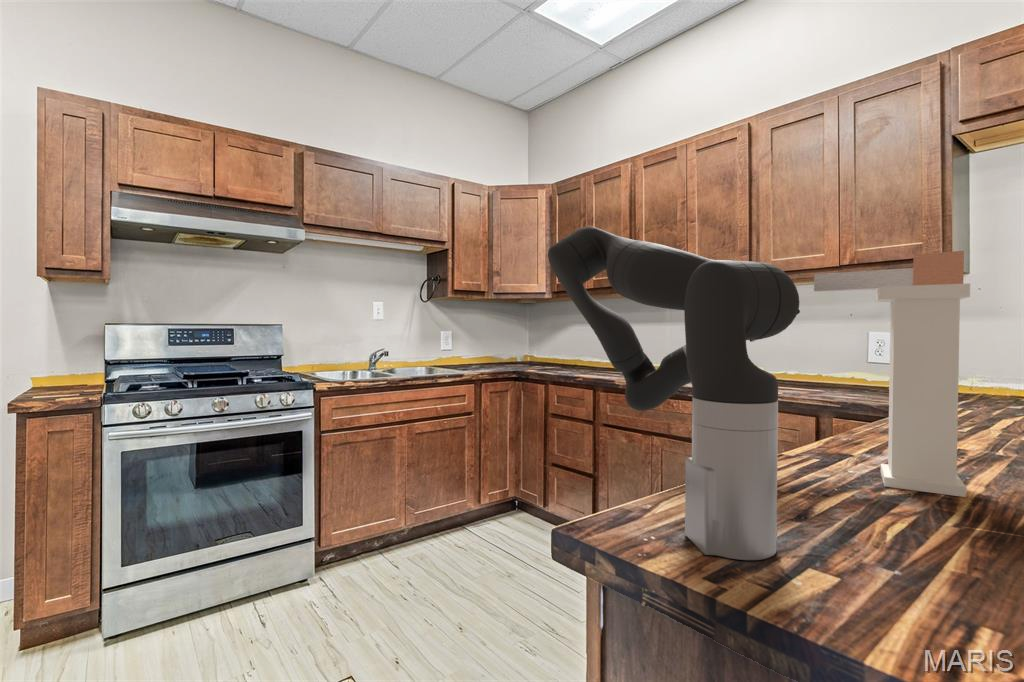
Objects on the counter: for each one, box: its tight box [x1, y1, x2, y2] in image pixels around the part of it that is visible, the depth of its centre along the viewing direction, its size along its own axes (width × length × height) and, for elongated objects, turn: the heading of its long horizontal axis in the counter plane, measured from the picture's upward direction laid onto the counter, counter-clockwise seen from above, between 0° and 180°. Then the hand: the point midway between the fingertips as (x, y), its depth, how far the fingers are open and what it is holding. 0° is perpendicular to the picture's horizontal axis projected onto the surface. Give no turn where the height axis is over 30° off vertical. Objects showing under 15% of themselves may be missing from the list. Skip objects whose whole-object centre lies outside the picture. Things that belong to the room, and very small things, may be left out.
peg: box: [813, 250, 965, 293], centre depth 87 cm, size 20×6×5 cm, turn 50°
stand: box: [875, 283, 971, 498], centre depth 85 cm, size 11×10×32 cm
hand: (795, 306), depth 94 cm, fingers open, 8 cm apart
